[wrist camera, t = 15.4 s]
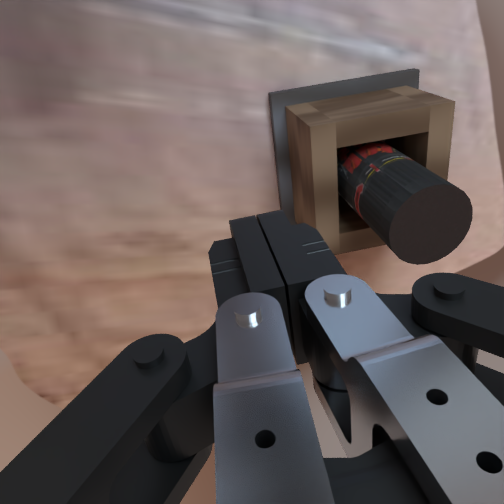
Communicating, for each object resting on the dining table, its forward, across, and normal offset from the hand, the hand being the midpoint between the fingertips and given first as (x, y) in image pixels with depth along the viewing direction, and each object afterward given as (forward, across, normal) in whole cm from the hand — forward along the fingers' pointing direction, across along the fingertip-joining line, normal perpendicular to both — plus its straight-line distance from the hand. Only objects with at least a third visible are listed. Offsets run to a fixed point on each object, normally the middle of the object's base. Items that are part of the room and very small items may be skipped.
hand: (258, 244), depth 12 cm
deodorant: (+29, -13, +9) cm, 33 cm away
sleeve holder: (+30, -13, +10) cm, 35 cm away
